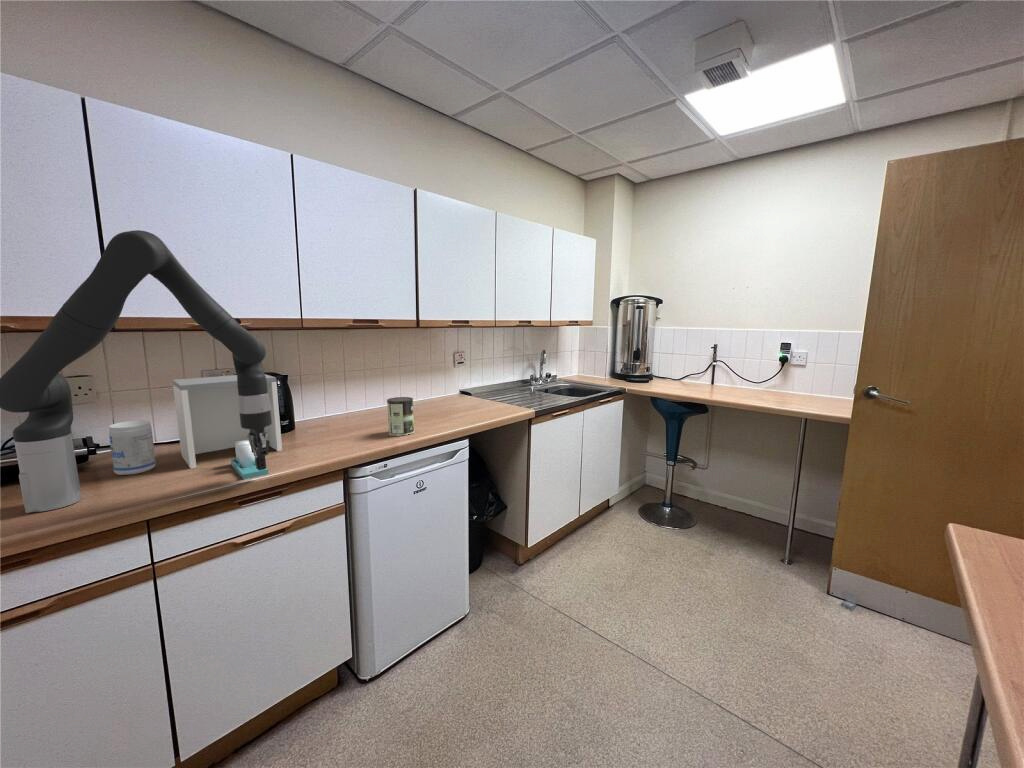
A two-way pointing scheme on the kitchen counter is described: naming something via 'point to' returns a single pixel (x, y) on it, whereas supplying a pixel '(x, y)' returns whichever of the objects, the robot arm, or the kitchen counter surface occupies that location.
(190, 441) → the white shelf
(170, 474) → the kitchen counter surface
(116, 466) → the supplement tub
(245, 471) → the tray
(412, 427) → the coffee can
